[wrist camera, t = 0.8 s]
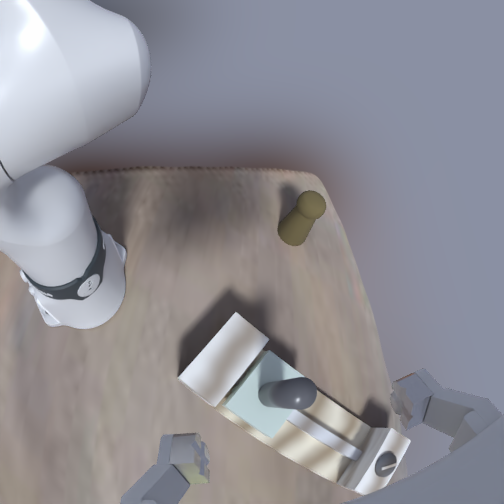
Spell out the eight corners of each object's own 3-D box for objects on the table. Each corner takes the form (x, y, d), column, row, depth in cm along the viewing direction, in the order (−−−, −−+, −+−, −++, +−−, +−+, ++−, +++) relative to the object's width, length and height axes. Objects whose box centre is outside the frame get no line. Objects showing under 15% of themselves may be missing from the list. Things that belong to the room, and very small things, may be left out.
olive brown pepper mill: (299, 218, 59) (322, 184, 49) (310, 243, 56) (336, 212, 47) (273, 221, 57) (293, 185, 47) (283, 248, 54) (307, 215, 45)
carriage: (220, 404, 37) (242, 409, 25) (260, 354, 42) (298, 335, 30) (262, 434, 36) (303, 449, 24) (299, 384, 41) (350, 375, 29)
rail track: (177, 379, 39) (178, 377, 32) (227, 323, 45) (236, 310, 38) (354, 492, 34) (379, 500, 28) (386, 439, 41) (413, 440, 34)
